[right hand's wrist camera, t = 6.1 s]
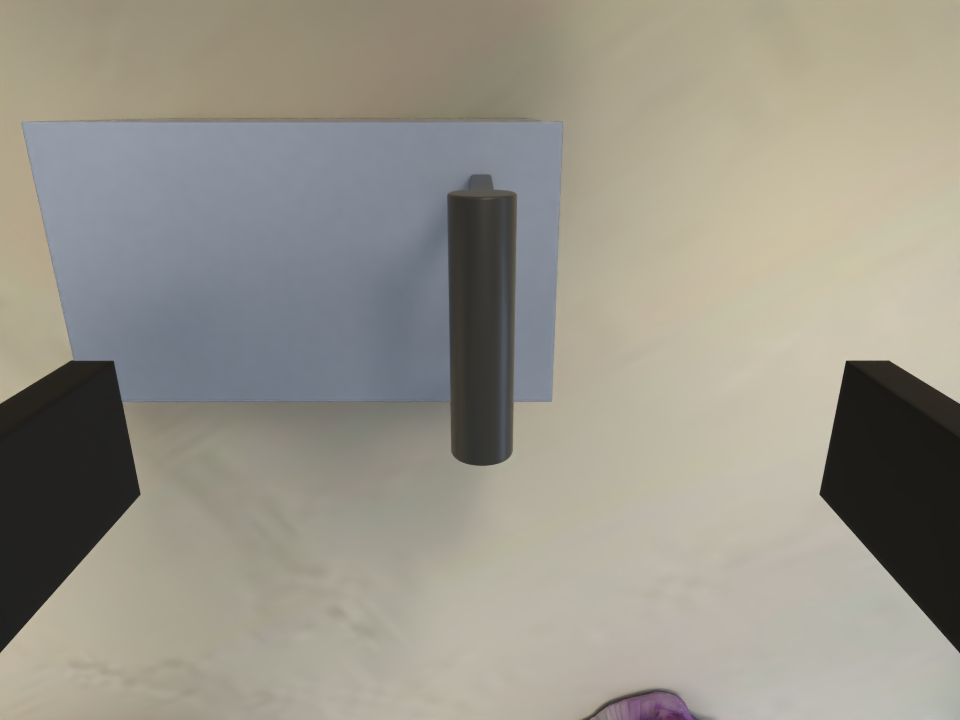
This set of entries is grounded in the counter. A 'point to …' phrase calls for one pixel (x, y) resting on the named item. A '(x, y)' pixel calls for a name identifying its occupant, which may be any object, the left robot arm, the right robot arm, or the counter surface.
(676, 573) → the counter surface
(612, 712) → the figurine
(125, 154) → the lid
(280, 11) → the counter surface
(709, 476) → the counter surface
